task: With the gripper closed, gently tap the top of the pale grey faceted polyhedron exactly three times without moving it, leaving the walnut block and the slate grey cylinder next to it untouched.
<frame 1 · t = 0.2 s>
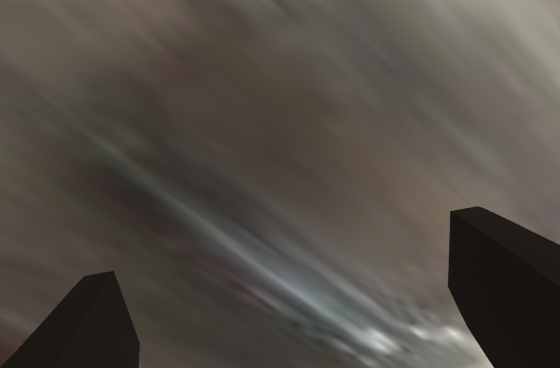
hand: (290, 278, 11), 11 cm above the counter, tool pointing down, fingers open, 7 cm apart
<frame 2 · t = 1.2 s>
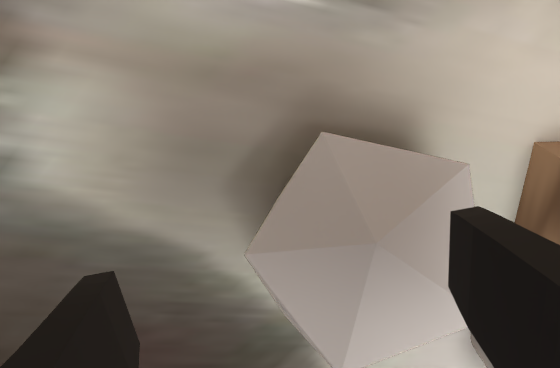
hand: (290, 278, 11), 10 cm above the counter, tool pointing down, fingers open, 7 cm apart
pale grey faceted polyhedron: (342, 199, 22), on the counter
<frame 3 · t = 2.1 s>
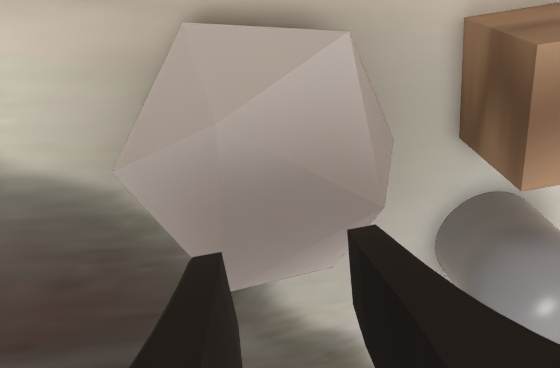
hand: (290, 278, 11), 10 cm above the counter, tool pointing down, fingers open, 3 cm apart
grey cylinder: (485, 237, 24), on the counter
walnut block: (520, 70, 20), on the counter
pale grey faceted polyhedron: (254, 114, 20), on the counter
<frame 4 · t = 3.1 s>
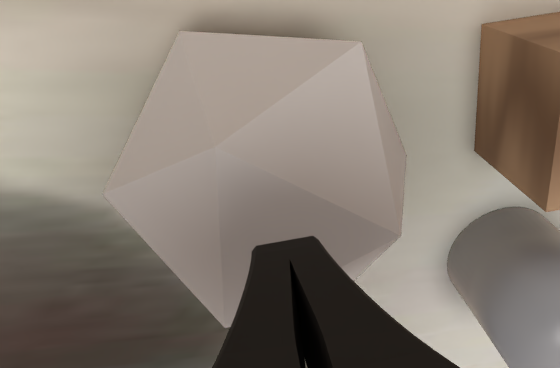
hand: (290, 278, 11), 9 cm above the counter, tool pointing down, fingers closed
grey cylinder: (500, 254, 23), on the counter
walnut block: (539, 80, 19), on the counter
pale grey faceted polyhedron: (257, 126, 19), on the counter
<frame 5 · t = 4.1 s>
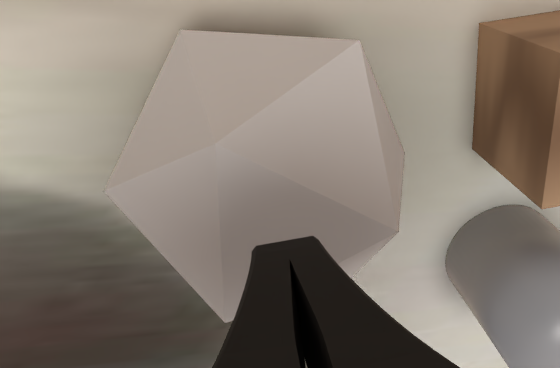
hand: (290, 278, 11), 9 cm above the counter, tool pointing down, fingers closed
grey cylinder: (498, 251, 23), on the counter
walnut block: (536, 79, 19), on the counter
pale grey faceted polyhedron: (256, 124, 19), on the counter
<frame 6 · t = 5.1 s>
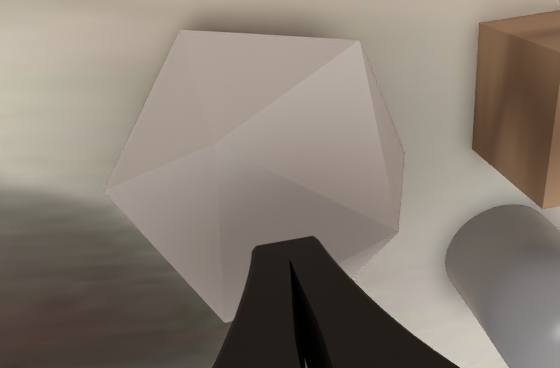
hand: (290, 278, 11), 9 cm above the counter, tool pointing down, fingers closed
grey cylinder: (498, 251, 23), on the counter
walnut block: (536, 79, 19), on the counter
pale grey faceted polyhedron: (256, 124, 19), on the counter
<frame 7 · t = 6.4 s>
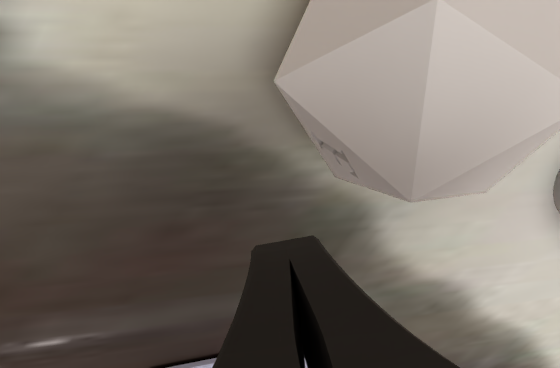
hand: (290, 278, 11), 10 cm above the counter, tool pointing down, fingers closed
pale grey faceted polyhedron: (383, 39, 19), on the counter
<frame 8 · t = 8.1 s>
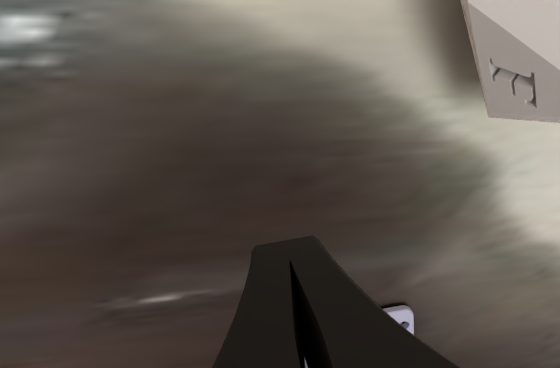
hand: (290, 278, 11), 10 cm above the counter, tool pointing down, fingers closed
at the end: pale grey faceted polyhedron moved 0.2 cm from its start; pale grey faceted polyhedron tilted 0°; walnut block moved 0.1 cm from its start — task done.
